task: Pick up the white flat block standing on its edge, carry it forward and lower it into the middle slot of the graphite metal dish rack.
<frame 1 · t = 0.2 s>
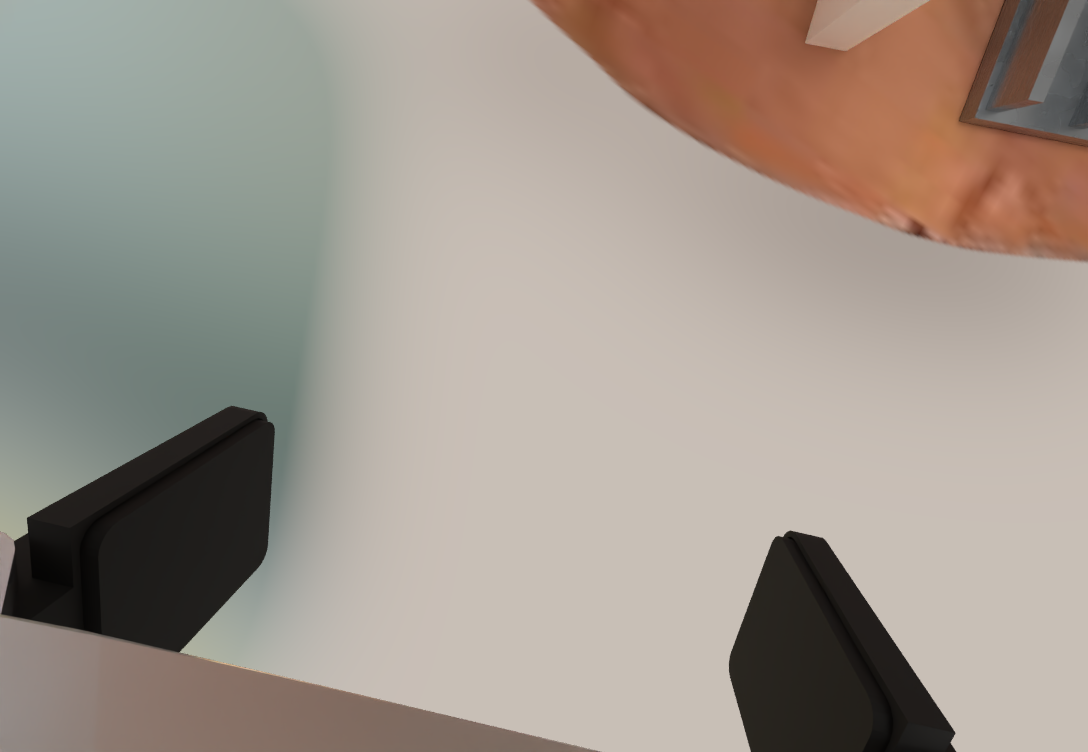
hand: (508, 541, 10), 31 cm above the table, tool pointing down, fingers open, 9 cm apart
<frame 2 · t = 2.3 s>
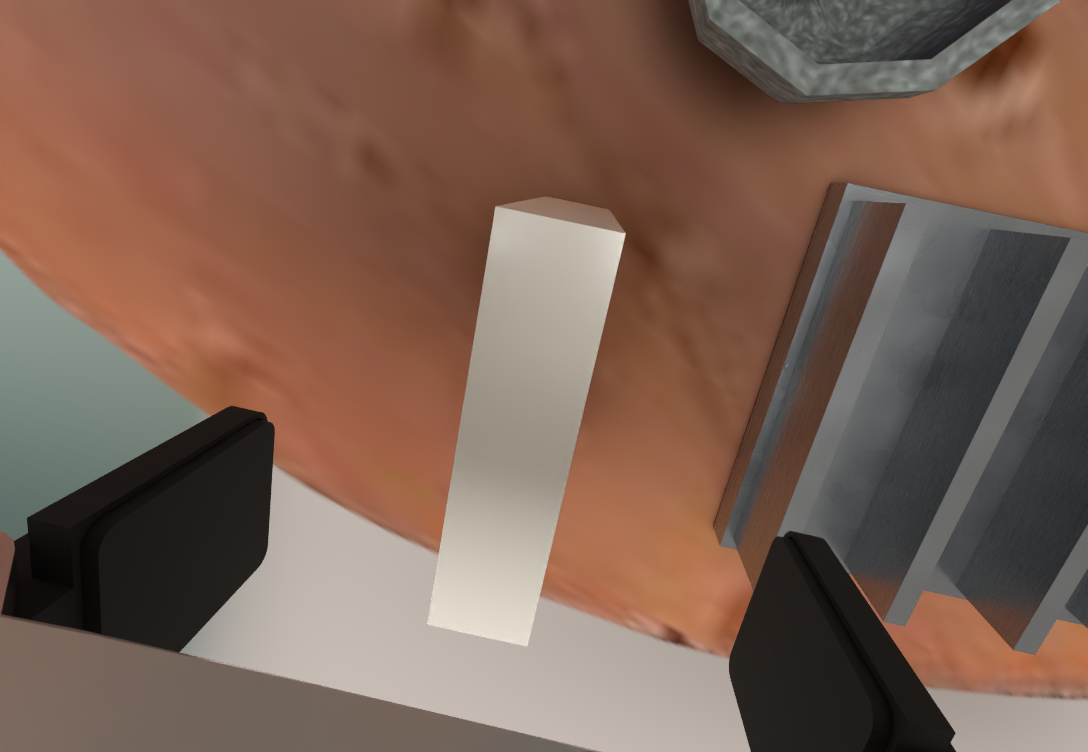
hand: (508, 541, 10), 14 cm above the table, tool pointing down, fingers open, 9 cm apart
rack: (958, 413, 23), on the table
white flat block: (551, 326, 24), on the table
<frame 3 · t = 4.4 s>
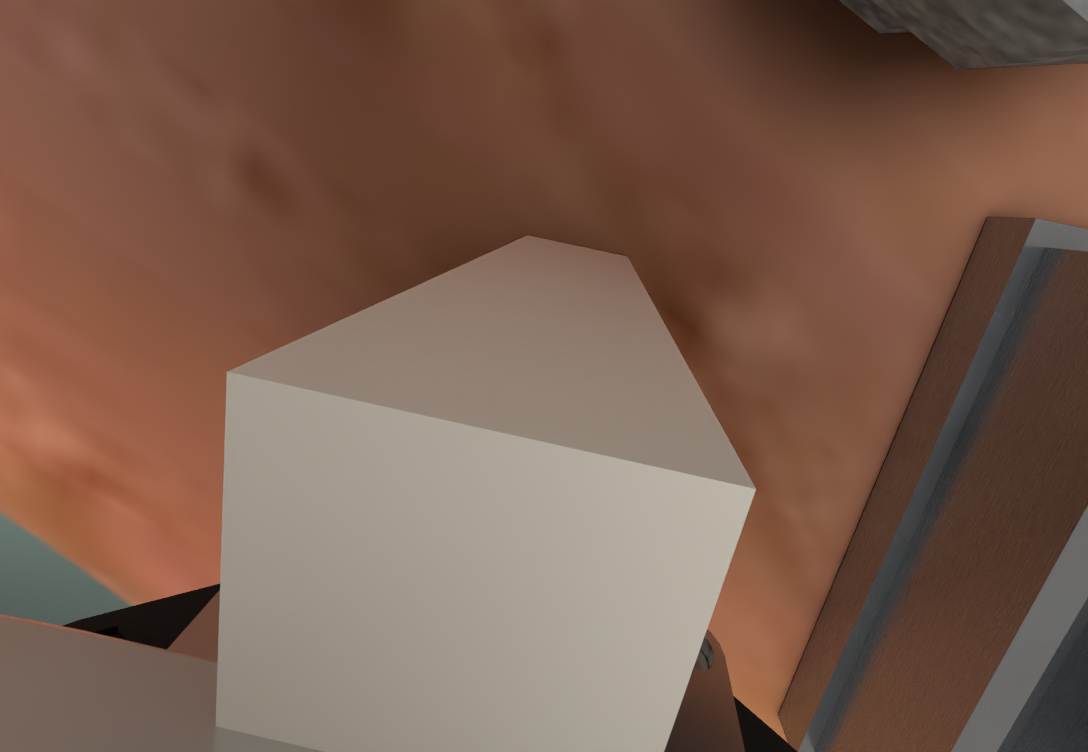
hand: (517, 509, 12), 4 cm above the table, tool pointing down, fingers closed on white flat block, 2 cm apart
white flat block: (538, 430, 16), on the table, touching gripper
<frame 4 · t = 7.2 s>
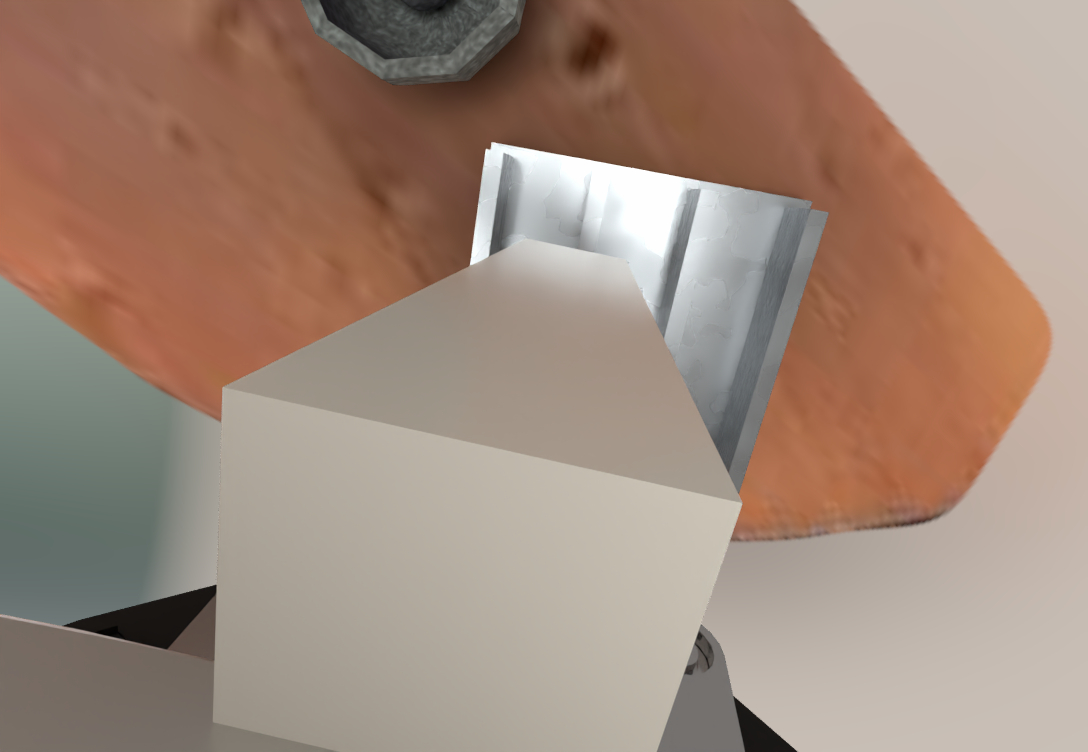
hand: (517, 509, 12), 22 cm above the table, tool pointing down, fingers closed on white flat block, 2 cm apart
rack: (617, 313, 32), on the table
white flat block: (536, 432, 16), point 17 cm above the table, touching gripper
when the fingers open (7 cm above the table, at t = 10.3 s): white flat block stays where it is, resting on rack.
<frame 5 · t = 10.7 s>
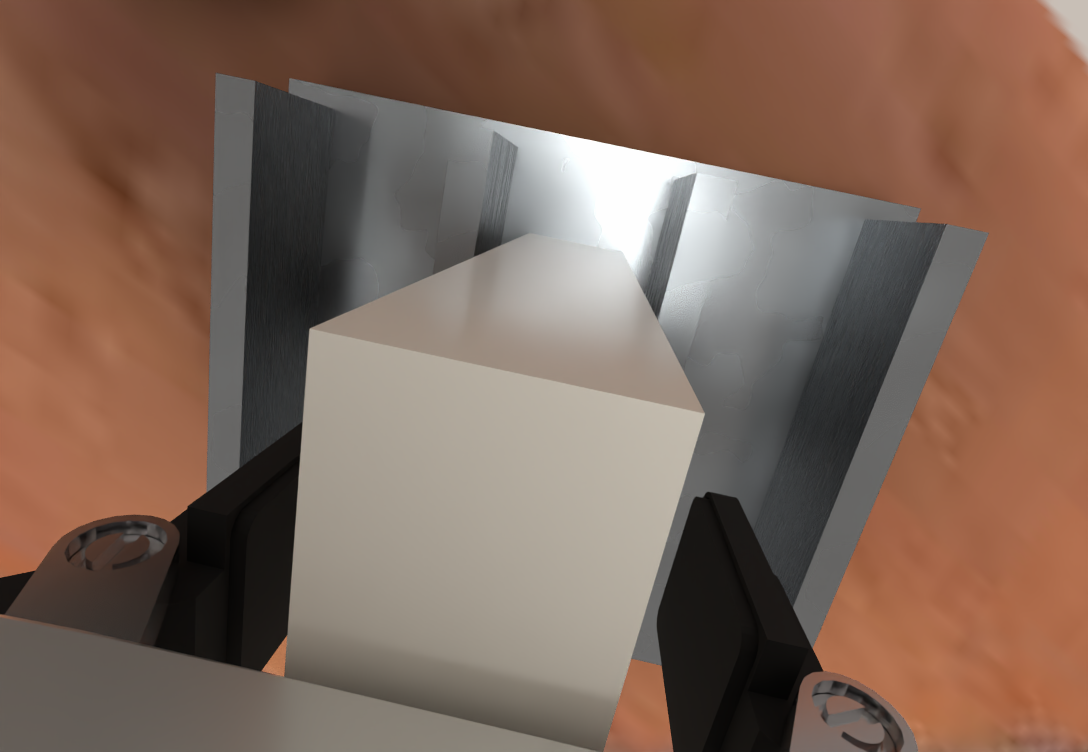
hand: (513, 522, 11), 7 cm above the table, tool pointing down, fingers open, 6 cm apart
rack: (545, 400, 18), on the table
white flat block: (539, 417, 16), point 1 cm above the table, touching rack
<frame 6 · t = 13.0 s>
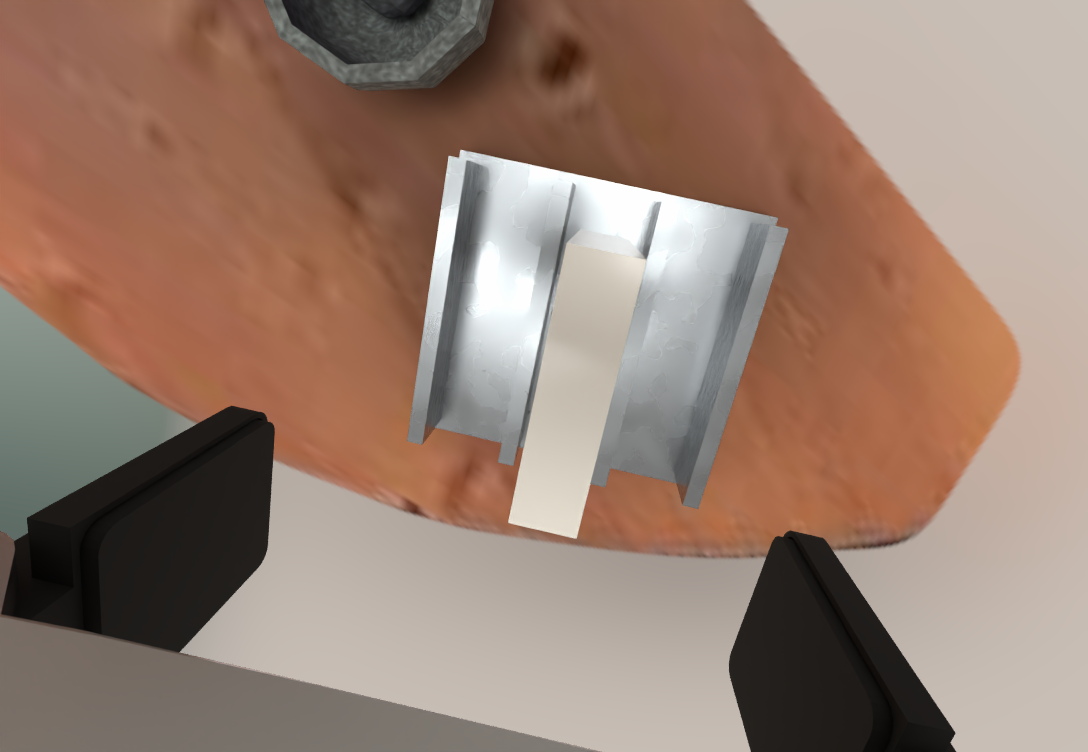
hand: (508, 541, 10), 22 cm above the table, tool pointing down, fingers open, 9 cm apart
rack: (584, 323, 32), on the table
white flat block: (583, 328, 30), point 1 cm above the table, touching rack
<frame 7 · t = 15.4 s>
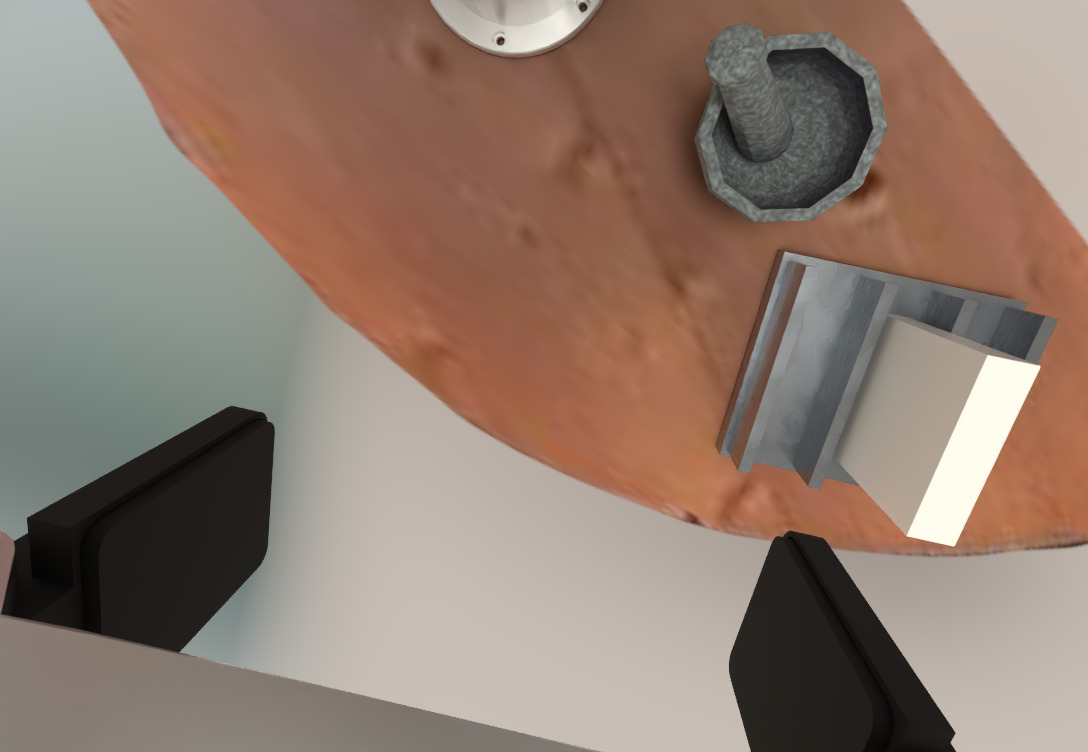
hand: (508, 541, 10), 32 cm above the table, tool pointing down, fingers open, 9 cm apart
rack: (854, 377, 41), on the table
mortar and pestle: (748, 138, 38), on the table
white flat block: (863, 383, 40), point 1 cm above the table, touching rack
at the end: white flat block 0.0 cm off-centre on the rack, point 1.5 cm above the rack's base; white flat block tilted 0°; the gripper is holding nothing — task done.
